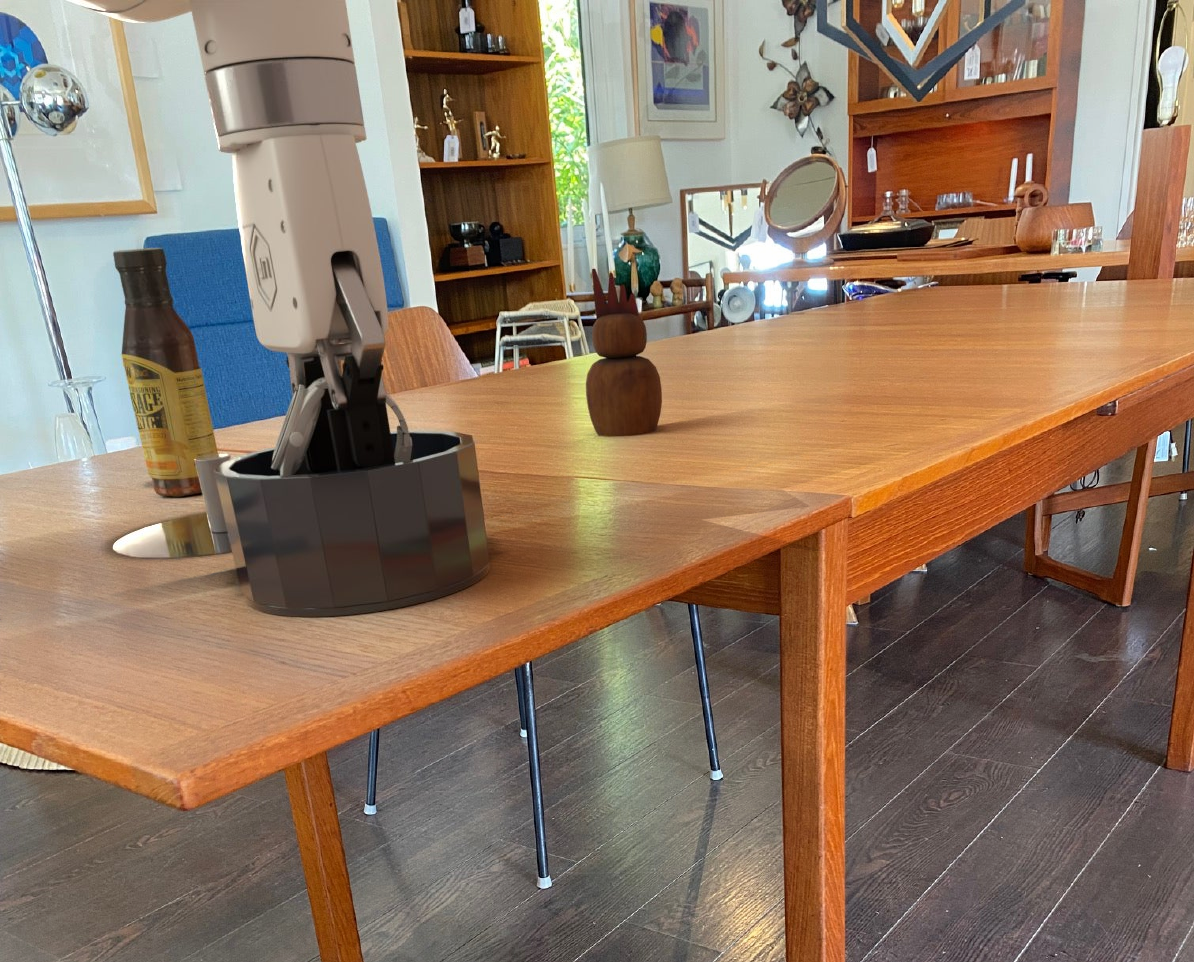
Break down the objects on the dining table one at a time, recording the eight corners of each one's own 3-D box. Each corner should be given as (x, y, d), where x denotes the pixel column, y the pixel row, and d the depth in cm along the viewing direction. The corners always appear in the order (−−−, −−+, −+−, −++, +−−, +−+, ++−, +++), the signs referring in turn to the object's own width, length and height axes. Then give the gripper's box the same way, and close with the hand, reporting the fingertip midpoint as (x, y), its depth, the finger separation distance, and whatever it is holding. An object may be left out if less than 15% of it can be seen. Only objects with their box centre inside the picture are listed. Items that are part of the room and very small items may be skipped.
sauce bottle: (143, 495, 105) (82, 253, 97) (207, 482, 109) (155, 248, 100) (172, 502, 101) (111, 249, 92) (239, 488, 104) (186, 243, 96)
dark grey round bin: (285, 634, 61) (255, 490, 58) (219, 582, 73) (190, 459, 70) (531, 577, 67) (516, 444, 64) (433, 538, 79) (416, 423, 76)
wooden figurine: (579, 448, 108) (563, 271, 102) (613, 437, 112) (600, 267, 106) (641, 449, 104) (629, 266, 98) (674, 437, 109) (664, 261, 102)
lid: (139, 588, 73) (114, 490, 71) (100, 547, 86) (77, 463, 83) (373, 540, 80) (357, 449, 77) (305, 509, 92) (289, 430, 90)
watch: (295, 568, 71) (256, 380, 66) (425, 550, 73) (397, 364, 68) (294, 594, 67) (252, 393, 61) (434, 574, 68) (404, 376, 63)
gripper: (178, 137, 65) (249, 469, 73) (261, 90, 51) (337, 506, 59) (308, 131, 68) (362, 450, 76) (419, 85, 54) (471, 481, 62)
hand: (350, 471), depth 67 cm, fingers closed on watch, 5 cm apart
